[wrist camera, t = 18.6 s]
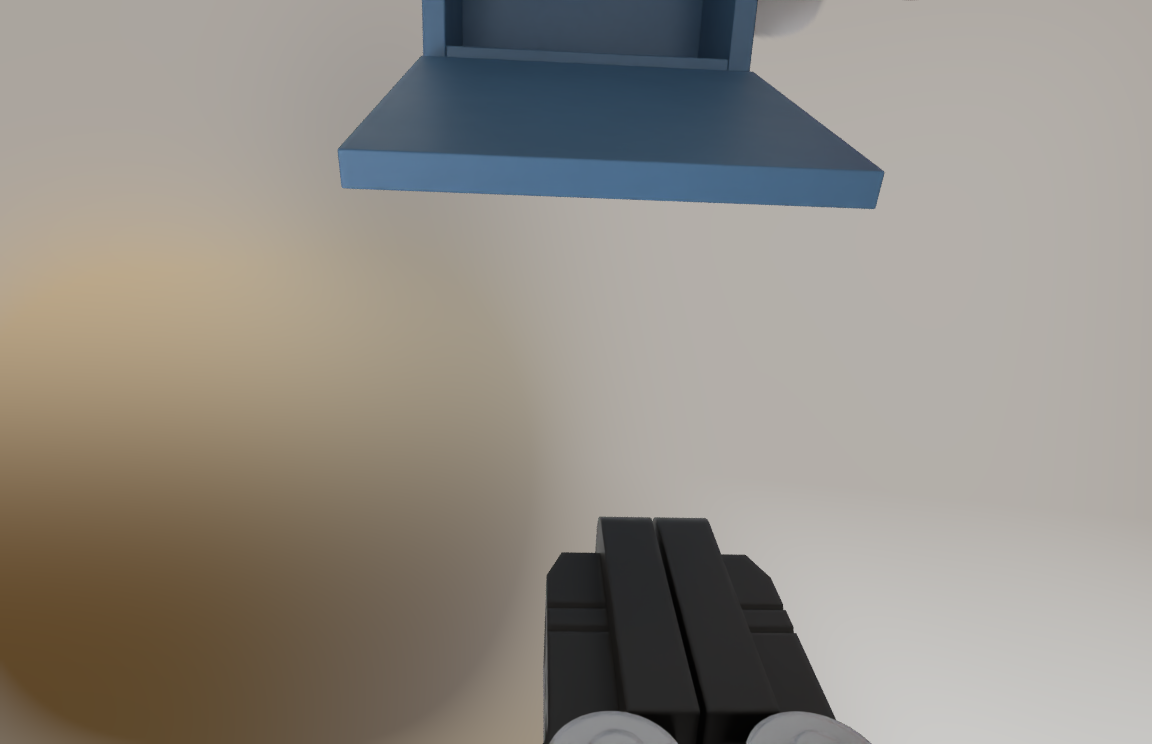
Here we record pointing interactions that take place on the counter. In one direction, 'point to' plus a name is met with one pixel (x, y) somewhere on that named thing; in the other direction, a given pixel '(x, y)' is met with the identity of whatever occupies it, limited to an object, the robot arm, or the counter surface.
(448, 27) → the blue open square box
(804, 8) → the counter surface
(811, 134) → the lid
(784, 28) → the counter surface
